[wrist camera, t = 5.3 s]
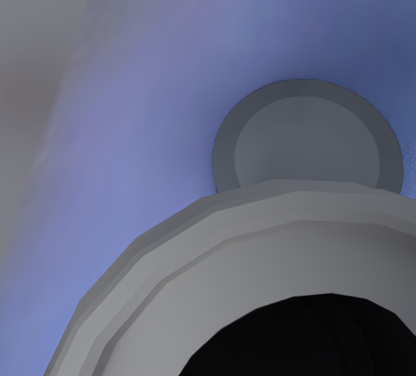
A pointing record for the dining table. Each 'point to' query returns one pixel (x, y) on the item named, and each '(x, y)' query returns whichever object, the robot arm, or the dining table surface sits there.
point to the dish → (306, 139)
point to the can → (257, 289)
